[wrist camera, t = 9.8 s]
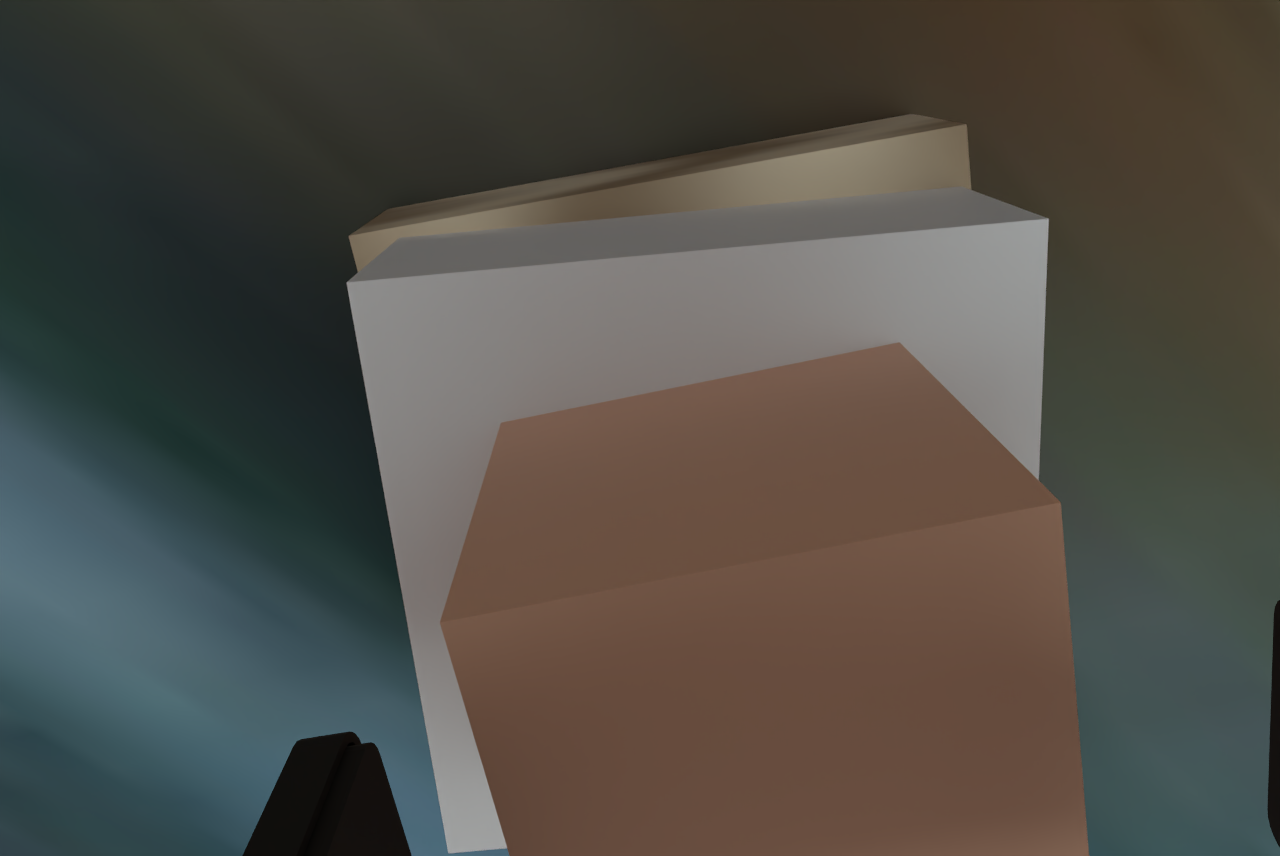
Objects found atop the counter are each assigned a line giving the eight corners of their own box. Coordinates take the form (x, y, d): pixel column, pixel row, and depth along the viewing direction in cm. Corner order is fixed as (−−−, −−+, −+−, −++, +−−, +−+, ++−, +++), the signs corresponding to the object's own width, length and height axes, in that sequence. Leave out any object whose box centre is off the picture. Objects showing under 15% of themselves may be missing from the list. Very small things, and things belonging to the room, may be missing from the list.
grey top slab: (961, 186, 19) (1048, 218, 15) (955, 675, 22) (1026, 802, 18) (399, 237, 19) (346, 282, 15) (476, 718, 22) (448, 853, 19)
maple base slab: (906, 112, 22) (967, 123, 19) (947, 578, 26) (1005, 667, 22) (392, 205, 23) (348, 235, 19) (502, 652, 26) (484, 752, 23)
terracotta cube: (898, 342, 16) (1060, 502, 10) (943, 688, 18) (1099, 985, 12) (501, 421, 16) (439, 623, 10) (587, 754, 18) (575, 1076, 12)
